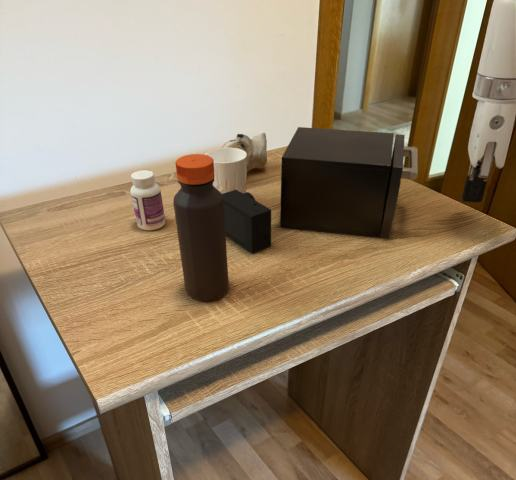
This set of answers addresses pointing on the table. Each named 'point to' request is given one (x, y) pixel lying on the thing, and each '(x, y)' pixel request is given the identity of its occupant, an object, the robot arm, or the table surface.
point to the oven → (335, 181)
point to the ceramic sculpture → (251, 149)
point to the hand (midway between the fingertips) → (471, 199)
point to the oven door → (397, 180)
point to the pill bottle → (147, 201)
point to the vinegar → (201, 228)
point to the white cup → (229, 169)
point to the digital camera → (247, 221)
